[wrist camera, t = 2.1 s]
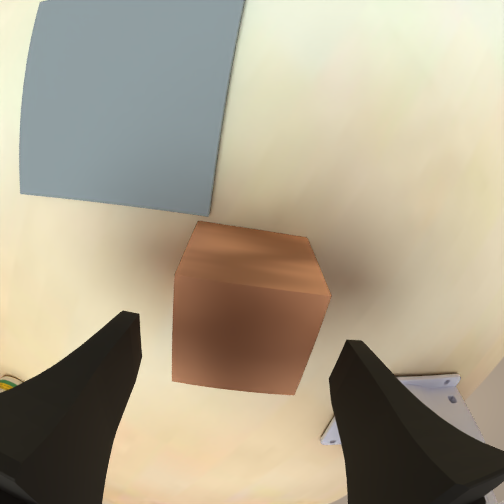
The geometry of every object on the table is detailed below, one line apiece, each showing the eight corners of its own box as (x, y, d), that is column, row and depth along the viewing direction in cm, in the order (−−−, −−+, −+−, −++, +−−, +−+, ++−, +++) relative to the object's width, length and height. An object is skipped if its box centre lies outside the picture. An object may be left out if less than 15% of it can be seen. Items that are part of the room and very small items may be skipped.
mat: (246, -8, 10) (246, -13, 9) (210, 212, 14) (208, 216, 13) (46, 4, 9) (39, 2, 8) (26, 190, 13) (20, 194, 13)
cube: (306, 236, 15) (331, 296, 10) (284, 323, 17) (294, 395, 12) (198, 220, 14) (174, 274, 10) (189, 310, 16) (171, 381, 12)
